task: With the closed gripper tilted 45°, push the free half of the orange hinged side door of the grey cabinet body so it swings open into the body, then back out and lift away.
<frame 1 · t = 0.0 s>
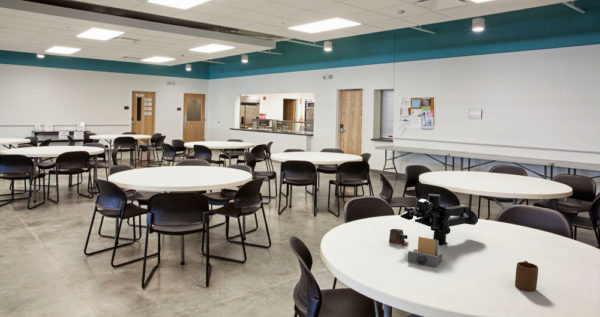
hand: (407, 218, 201), 17 cm above the table, tool horizontal, fingers open, 9 cm apart
electronic device: (398, 244, 214), on the table
mug: (524, 286, 164), on the table
side door: (428, 248, 192), point 5 cm above the table, hinge at 0.0°
grey cabinet body: (435, 260, 191), on the table
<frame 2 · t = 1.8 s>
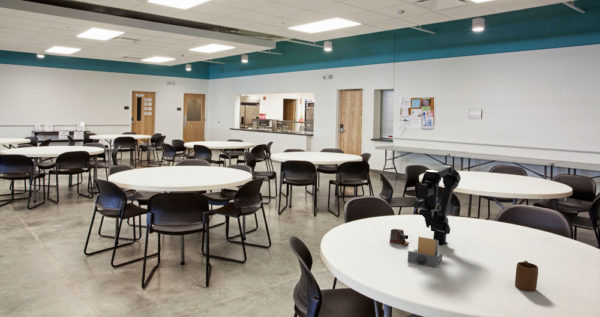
hand: (429, 226, 204), 12 cm above the table, tool pointing down, fingers open, 5 cm apart
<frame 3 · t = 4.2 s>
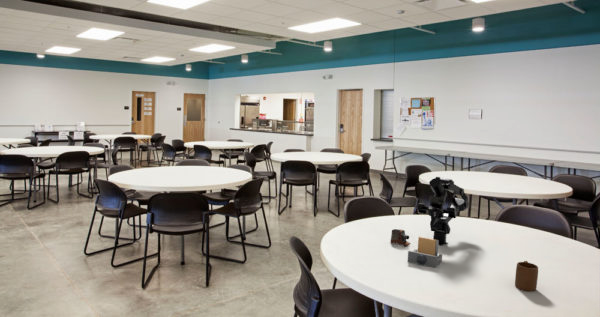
hand: (432, 224, 202), 13 cm above the table, tool tilted 45°, fingers closed
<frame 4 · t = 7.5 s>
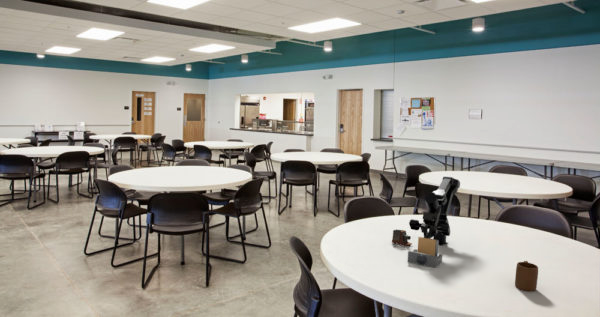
hand: (425, 242, 193), 7 cm above the table, tool tilted 45°, fingers closed, pressing on side door
side door: (428, 248, 192), point 5 cm above the table, hinge at 1.6°, touching gripper
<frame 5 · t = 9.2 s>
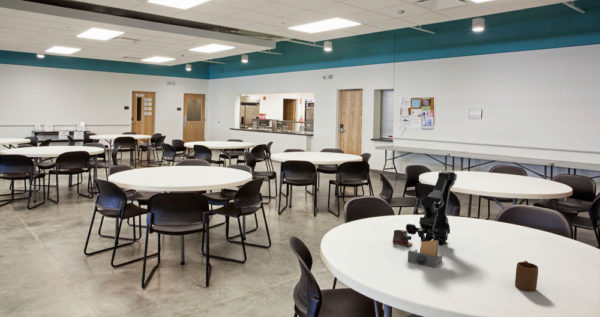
hand: (422, 247, 188), 6 cm above the table, tool tilted 45°, fingers closed, pressing on side door
side door: (429, 250, 189), point 5 cm above the table, hinge at 52.7°, touching gripper
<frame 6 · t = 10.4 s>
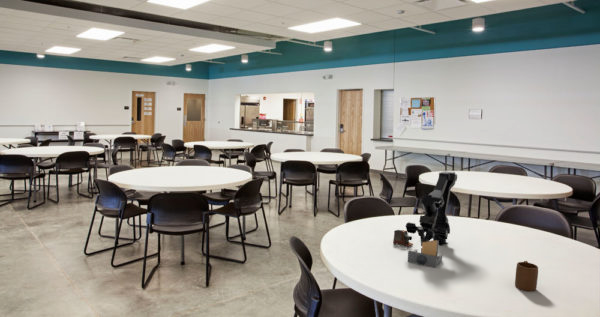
hand: (422, 246, 189), 7 cm above the table, tool tilted 45°, fingers closed
side door: (429, 250, 189), point 5 cm above the table, hinge at 59.0°
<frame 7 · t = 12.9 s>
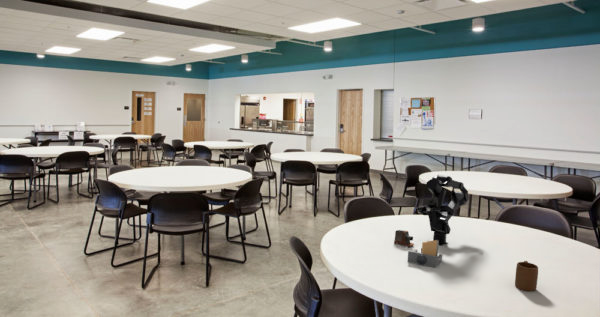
hand: (431, 226, 203), 12 cm above the table, tool tilted 35°, fingers closed
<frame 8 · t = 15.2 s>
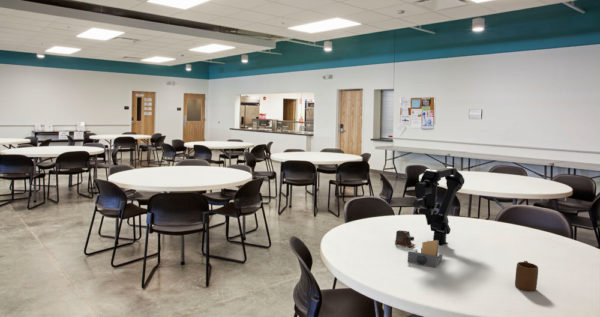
hand: (428, 224, 207), 12 cm above the table, tool pointing down, fingers closed
at the end: side door at +59° (first picture: +0°) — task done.
